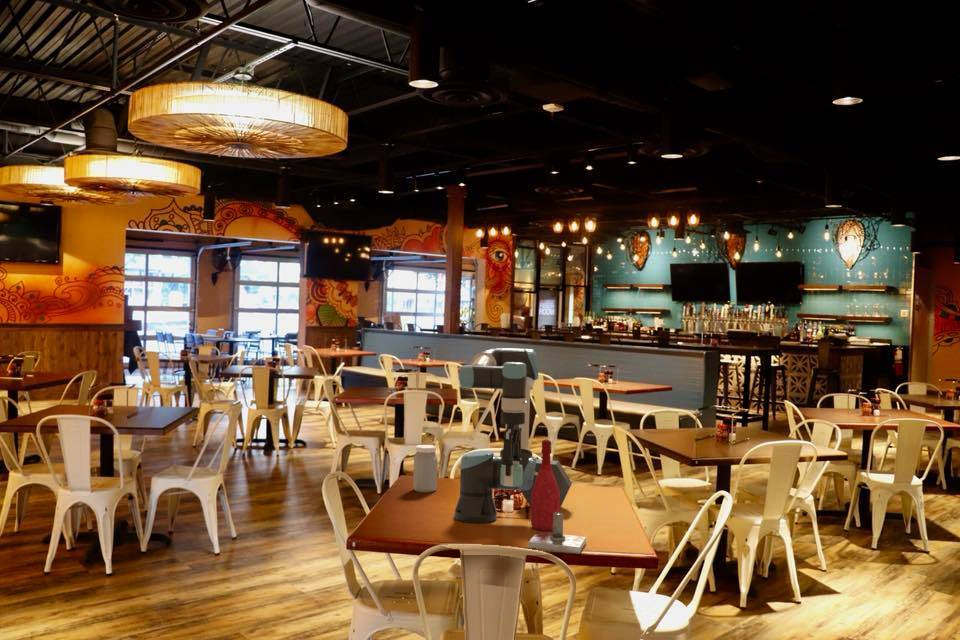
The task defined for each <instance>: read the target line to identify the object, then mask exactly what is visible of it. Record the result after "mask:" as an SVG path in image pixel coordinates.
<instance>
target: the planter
mask: <svg viewBox="0 0 960 640" xmlns="http://www.w3.org/2000/svg"><path fill="white" fill-rule="evenodd" d="M550 463H551V467H552V472H553V475H554V477H555V480H556V482H557V485H558V488H559V493H560V508H561V507H562V505H563V503H564V501H565V499H566V497H567V495H568V493H569V490H570V488H571V486H572V484H573V482H572V481H571V478H570V477H569V475H568V474H567V472H566V470H565V469H564V468H563V465H562V464H561V462H560V461H559V460H554V459H553V460H552V459H550ZM541 464H542V459H537V458H536V466H535V473H537V474H535V473H534V479H533V484H532V487H531V489H529V490H520V491H519V492H521V494H522V496H523V497H524V499H525V501H526V502H527V505H528V506H529V507H530V508H531V494H532V489H533V486H534V483H535V480H536V478H537V476H538V474H539V472H540V467H541Z"/></svg>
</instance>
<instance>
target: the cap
mask: <svg viewBox="0 0 960 640" xmlns="http://www.w3.org/2000/svg"><path fill="white" fill-rule="evenodd" d="M513 465H514V466H513V486H509V487H517V486H521V485H523V469H522V465H520V464H513ZM504 468H505V465H502V466H501V478H500V484H501V485H503V486H504Z"/></svg>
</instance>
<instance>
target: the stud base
mask: <svg viewBox="0 0 960 640" xmlns="http://www.w3.org/2000/svg"><path fill="white" fill-rule="evenodd" d="M586 540H587V537H586V536H581V535H569V534H564V513H562V512H560V513H553V530H552V532H543V531H541V532H540V531H536V532H535V533H534V535H533V536H532V537H531V538H530V540H529V541H528V549H532V548H536V549H535V550H542V551H543V550H544V551H550V550H551V552H561V553H562V552H563V553H568V554H570V553H571V554H581V553H582V550H583V549H582V548H584V547H585V545H586V543H587V542H586ZM552 550H553V551H552Z"/></svg>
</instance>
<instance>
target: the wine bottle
mask: <svg viewBox="0 0 960 640" xmlns="http://www.w3.org/2000/svg"><path fill="white" fill-rule="evenodd" d="M540 451H541V454H542V455H541V456H542V459H541V460H542V464H541V467H540V472H539V474H538V473H537V475H538V476H537V478H536V480H535V483H534V486H533V489H532V494H531V507H530V524H531V527H532V528H533V529H535V530H538V531H541V532H543V531H545V532H546V531H548V532H549V531H553V513H561V512H560V509H561V507H560V493H559V488H558V485H557V482H556V480H555V477H554V475H553V472H552V467H551V463H550V460H551V454H552V441H551V440H548V439H543V440H542V441H541V450H540Z"/></svg>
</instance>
